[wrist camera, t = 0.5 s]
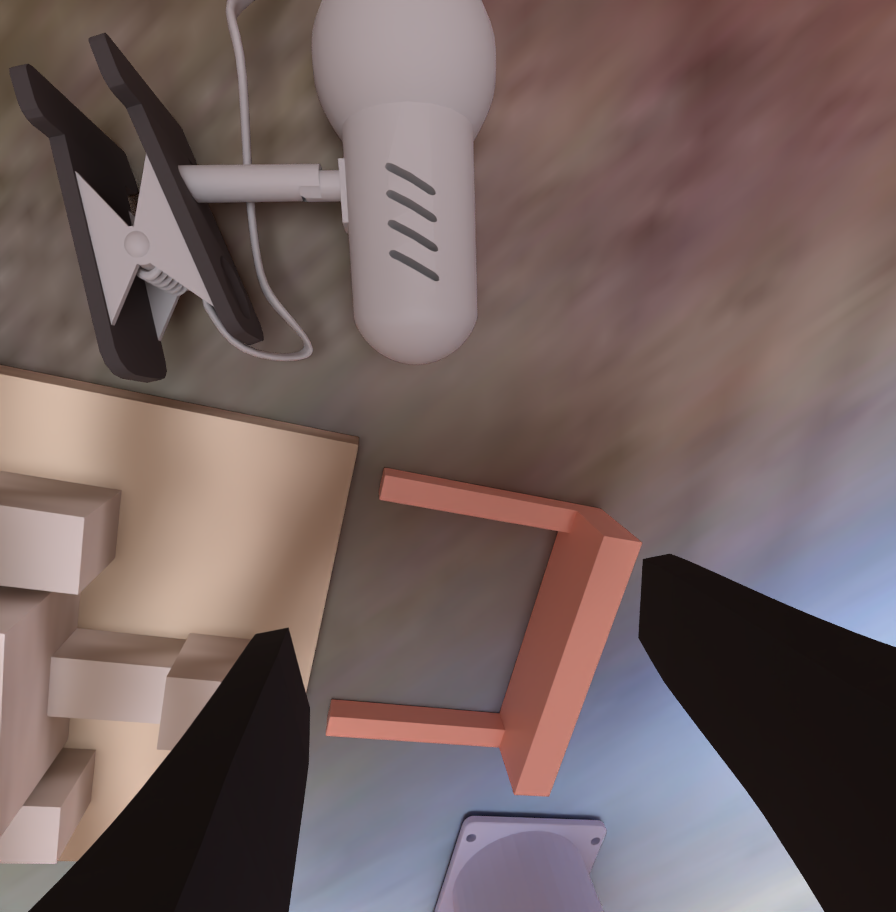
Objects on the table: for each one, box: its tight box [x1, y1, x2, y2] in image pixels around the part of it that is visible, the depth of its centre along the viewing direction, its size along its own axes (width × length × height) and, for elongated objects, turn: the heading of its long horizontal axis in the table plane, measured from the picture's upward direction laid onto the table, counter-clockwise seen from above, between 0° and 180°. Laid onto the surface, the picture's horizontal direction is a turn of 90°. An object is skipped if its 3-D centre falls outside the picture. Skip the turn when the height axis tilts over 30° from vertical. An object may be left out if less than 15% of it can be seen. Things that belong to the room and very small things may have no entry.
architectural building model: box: [0, 365, 359, 864], centre depth 17 cm, size 16×20×5 cm
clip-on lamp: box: [9, 0, 496, 383], centre depth 13 cm, size 12×6×18 cm
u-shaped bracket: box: [326, 467, 642, 796], centre depth 20 cm, size 10×12×3 cm
